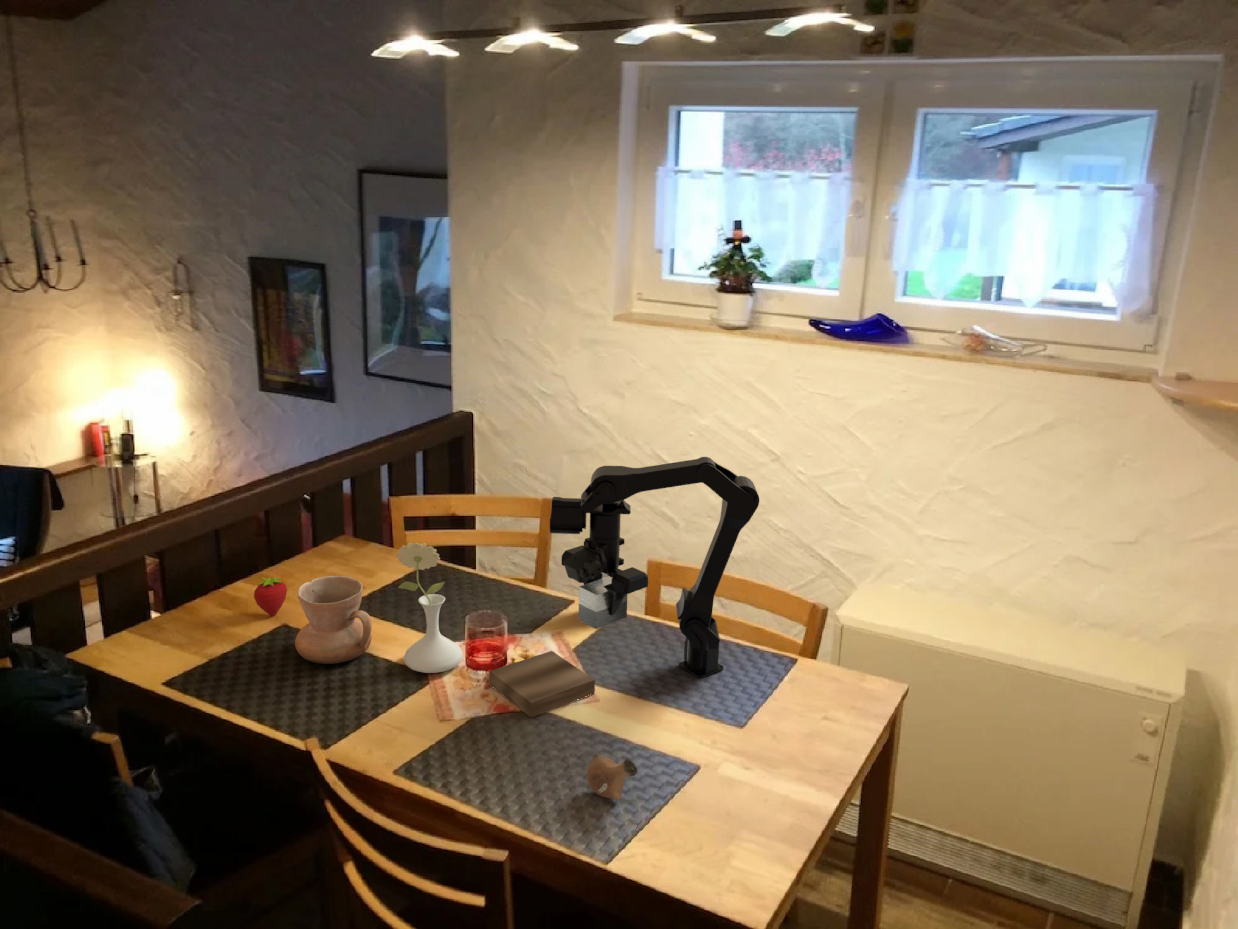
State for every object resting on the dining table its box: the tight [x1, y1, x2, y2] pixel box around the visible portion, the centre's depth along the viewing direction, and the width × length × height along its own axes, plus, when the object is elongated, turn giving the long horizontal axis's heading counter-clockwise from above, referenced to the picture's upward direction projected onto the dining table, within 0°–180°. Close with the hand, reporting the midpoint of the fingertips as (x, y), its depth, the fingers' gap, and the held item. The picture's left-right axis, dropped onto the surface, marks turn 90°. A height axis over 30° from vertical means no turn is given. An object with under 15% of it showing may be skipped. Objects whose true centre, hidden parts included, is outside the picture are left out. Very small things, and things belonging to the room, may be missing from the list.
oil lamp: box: [586, 752, 638, 801], centre depth 159 cm, size 9×4×8 cm, turn 58°
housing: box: [578, 576, 628, 630], centre depth 197 cm, size 8×5×7 cm, turn 133°
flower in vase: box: [395, 542, 464, 674], centre depth 196 cm, size 13×11×25 cm
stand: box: [489, 650, 596, 718], centre depth 191 cm, size 14×14×3 cm
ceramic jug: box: [294, 575, 373, 665], centre depth 200 cm, size 18×14×14 cm
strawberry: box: [253, 576, 288, 617], centre depth 217 cm, size 6×8×10 cm
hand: (602, 610), depth 197 cm, fingers closed on housing, 5 cm apart
